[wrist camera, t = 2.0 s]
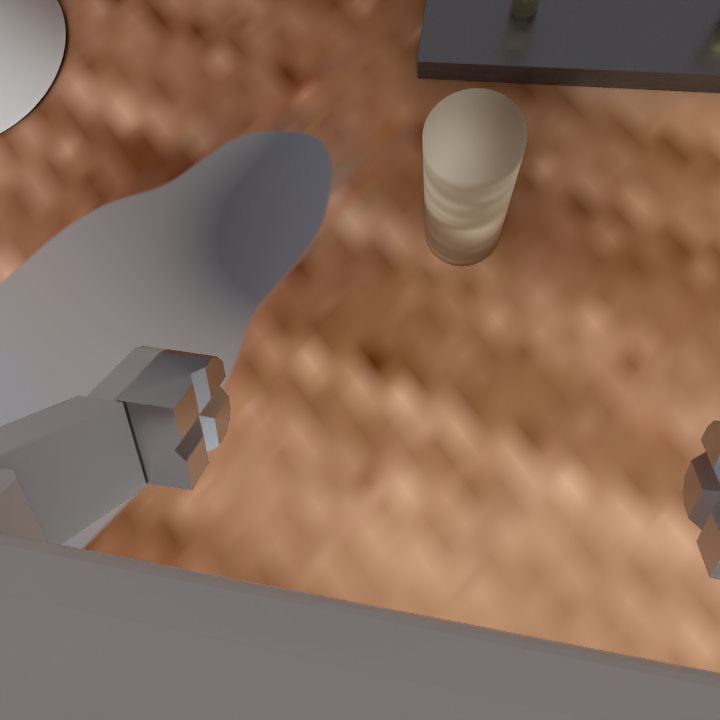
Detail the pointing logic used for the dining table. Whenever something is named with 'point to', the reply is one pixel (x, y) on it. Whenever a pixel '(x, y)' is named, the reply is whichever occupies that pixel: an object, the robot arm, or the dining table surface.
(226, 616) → the robot arm
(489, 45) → the pin plate
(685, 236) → the dining table surface
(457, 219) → the birch post
